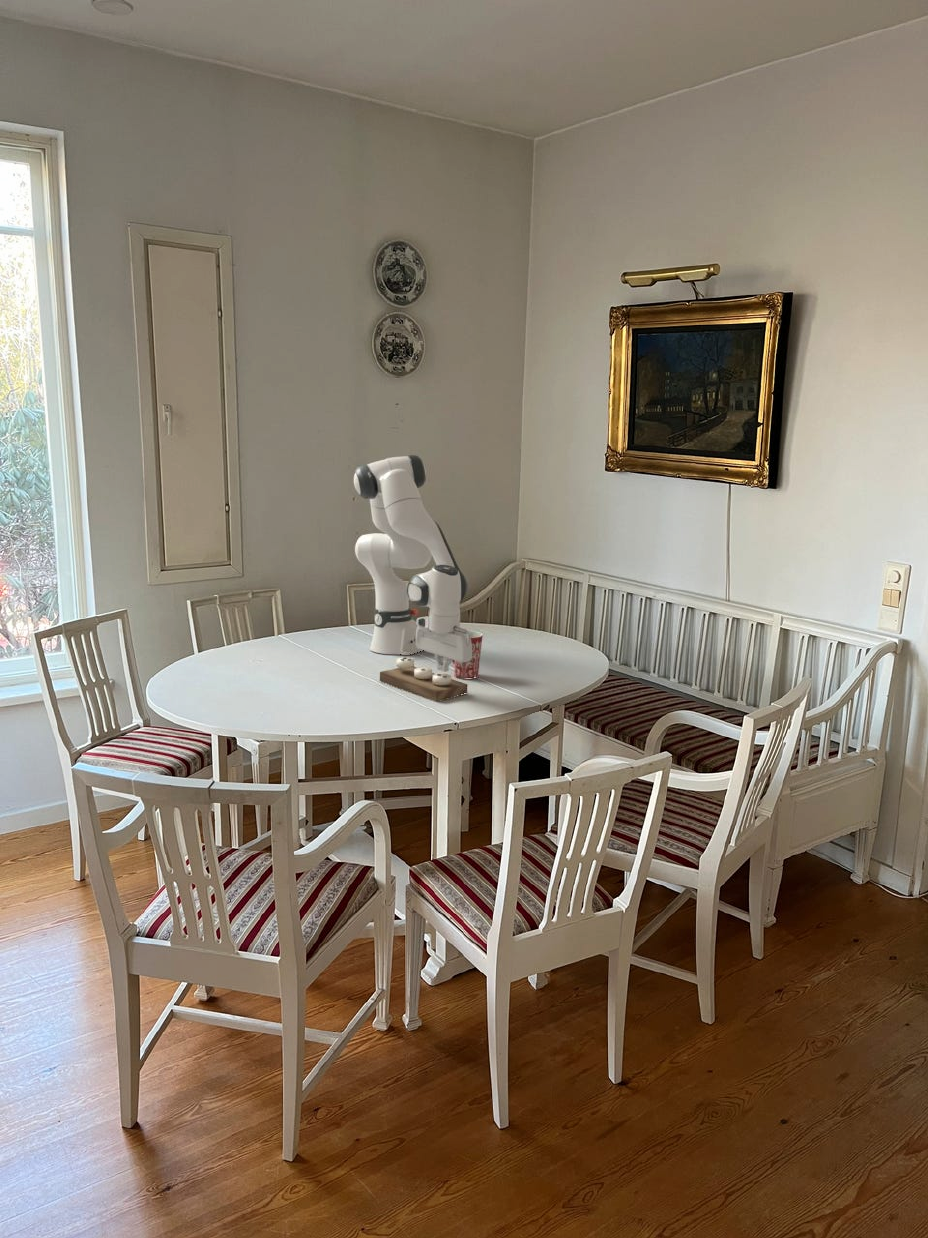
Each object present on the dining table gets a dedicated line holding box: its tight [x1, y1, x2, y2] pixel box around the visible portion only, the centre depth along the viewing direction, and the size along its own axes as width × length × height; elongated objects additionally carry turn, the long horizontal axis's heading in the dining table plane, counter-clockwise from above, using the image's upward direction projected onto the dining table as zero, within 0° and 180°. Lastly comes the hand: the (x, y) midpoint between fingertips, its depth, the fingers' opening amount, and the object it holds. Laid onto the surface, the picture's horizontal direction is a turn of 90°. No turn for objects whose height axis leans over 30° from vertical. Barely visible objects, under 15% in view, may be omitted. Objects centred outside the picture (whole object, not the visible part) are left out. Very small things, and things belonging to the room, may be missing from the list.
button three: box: [396, 656, 415, 668], centre depth 280 cm, size 5×5×2 cm
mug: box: [451, 629, 484, 679], centre depth 289 cm, size 13×9×14 cm
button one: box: [414, 667, 433, 679], centre depth 274 cm, size 5×5×2 cm
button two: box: [432, 673, 452, 685], centre depth 269 cm, size 5×5×2 cm
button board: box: [379, 666, 469, 703], centre depth 275 cm, size 12×25×3 cm, turn 44°
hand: (442, 670), depth 269 cm, fingers closed
